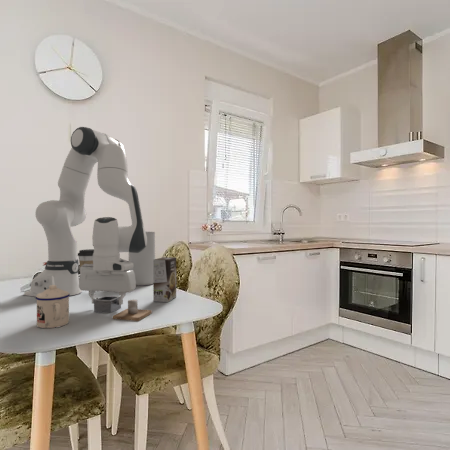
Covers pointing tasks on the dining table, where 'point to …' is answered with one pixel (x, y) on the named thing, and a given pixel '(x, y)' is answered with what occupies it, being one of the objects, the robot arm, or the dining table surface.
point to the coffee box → (164, 279)
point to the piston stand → (132, 312)
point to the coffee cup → (86, 256)
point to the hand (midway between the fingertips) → (107, 303)
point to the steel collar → (106, 304)
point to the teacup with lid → (52, 308)
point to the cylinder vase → (144, 262)
